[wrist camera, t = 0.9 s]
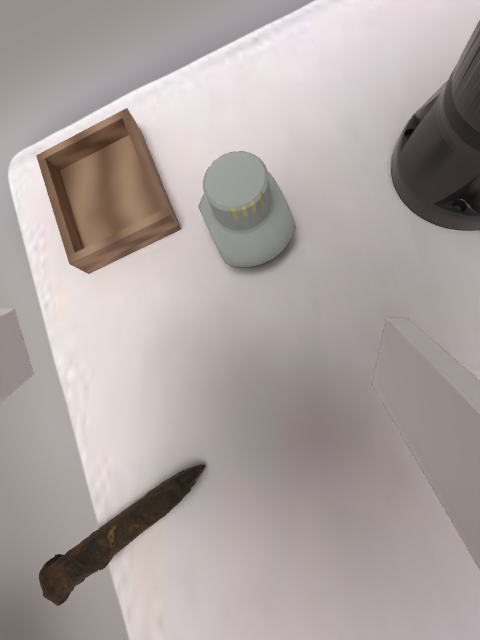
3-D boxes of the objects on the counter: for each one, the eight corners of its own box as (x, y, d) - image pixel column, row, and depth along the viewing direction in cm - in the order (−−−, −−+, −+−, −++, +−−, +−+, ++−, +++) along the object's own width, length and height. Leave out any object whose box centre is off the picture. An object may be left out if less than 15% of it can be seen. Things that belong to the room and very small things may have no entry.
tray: (140, 129, 42) (127, 108, 39) (181, 229, 39) (170, 214, 35) (56, 172, 43) (36, 155, 40) (88, 273, 40) (69, 264, 36)
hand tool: (75, 588, 34) (42, 621, 29) (59, 551, 34) (25, 578, 30) (220, 487, 33) (209, 505, 28) (200, 453, 34) (186, 465, 29)
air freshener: (201, 208, 39) (170, 152, 29) (261, 177, 38) (251, 110, 28) (236, 285, 36) (216, 252, 27) (302, 253, 36) (306, 207, 26)
